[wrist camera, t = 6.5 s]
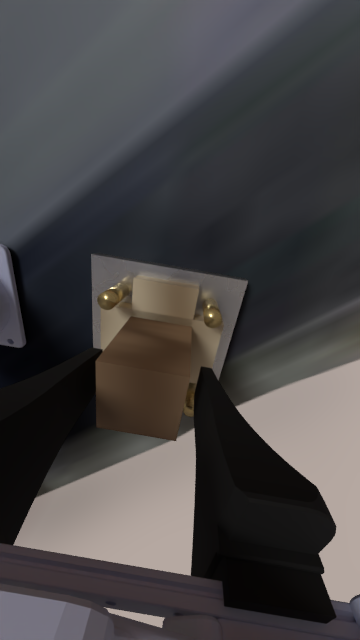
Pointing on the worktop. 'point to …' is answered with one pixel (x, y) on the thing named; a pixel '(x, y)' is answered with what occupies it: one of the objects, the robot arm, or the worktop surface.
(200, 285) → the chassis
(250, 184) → the worktop surface
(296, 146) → the worktop surface
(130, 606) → the robot arm
